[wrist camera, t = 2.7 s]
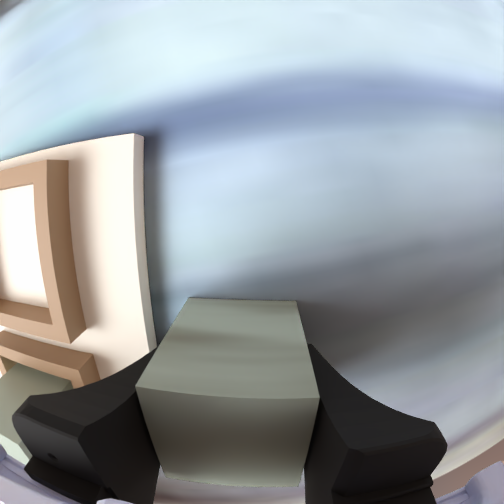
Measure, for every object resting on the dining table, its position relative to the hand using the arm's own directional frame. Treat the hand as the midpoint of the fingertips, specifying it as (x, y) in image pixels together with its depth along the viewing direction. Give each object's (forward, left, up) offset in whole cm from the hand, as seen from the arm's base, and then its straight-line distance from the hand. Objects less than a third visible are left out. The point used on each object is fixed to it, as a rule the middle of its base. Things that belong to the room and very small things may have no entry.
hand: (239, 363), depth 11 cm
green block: (0, 0, -1) cm, 1 cm away
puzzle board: (0, +11, -1) cm, 11 cm away
